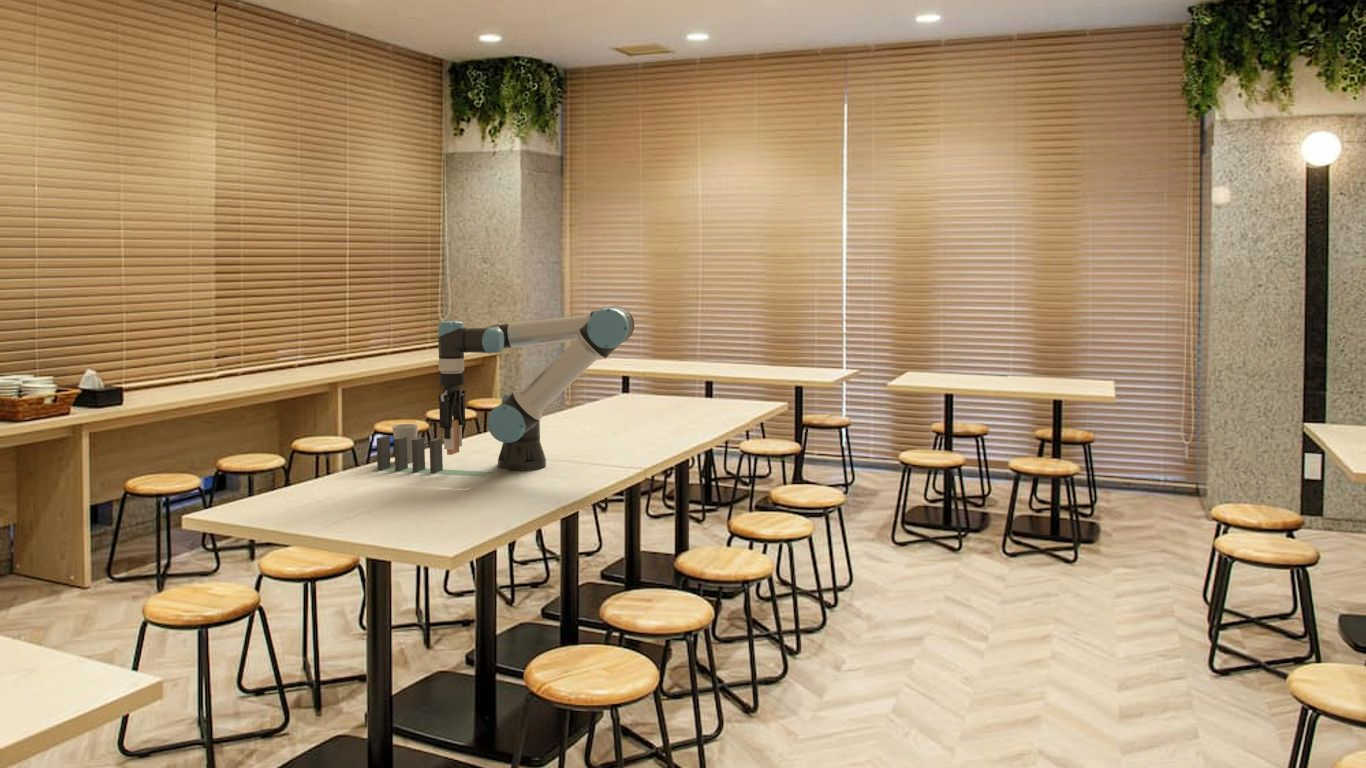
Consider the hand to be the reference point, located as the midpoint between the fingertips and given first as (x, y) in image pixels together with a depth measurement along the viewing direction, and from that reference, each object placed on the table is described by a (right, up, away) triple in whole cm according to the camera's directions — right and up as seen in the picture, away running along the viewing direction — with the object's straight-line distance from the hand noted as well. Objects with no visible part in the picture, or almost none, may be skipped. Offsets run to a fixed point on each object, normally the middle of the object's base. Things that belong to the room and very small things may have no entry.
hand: (453, 447), depth 330 cm
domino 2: (-17, -7, +5) cm, 19 cm away
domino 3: (-11, -7, +4) cm, 14 cm away
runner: (-7, -8, +3) cm, 11 cm away
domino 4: (-6, -7, +2) cm, 10 cm away
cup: (-19, -6, +19) cm, 28 cm away
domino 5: (0, -2, 0) cm, 2 cm away
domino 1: (-23, -7, +7) cm, 25 cm away
